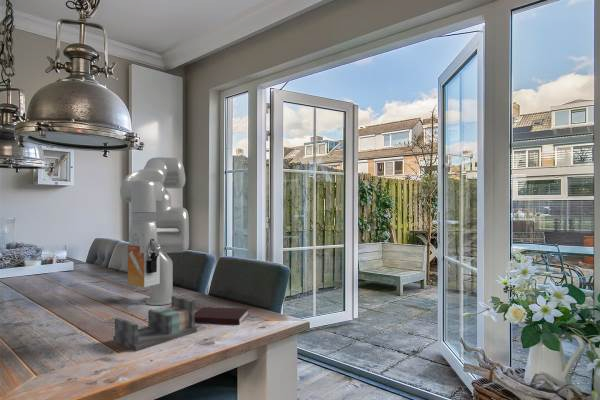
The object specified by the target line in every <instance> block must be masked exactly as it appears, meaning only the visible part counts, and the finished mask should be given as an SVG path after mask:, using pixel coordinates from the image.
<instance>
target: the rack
mask: <svg viewBox="0 0 600 400" xmlns="http://www.w3.org/2000/svg"><path fill="white" fill-rule="evenodd" d="M195 303H196V302H195V300H192V299H189V298H186V297H185V298H184V297H181V296H177V295H173V296H172V303H171V306H169V307H167V308H165V307H160V308H156V309H148V317H147V318H148V319H147V320H148V322H147V323H148V326H145V327H142V328H139V324H137V323H135V322H132V321H129V320H126V319H124V318H121V317H115V318H114V335H113V336H112V337H113V339H112V341H113V342H115V343H116V344H120V345H121V346H123V347H126V348H128V349H130V350H132V351H135V352H138V351H141V350H144V349H147V348H150V347H154V346H156V345H160V344H163V343H166V342H169V341H171V340H174V339H178V338H181V337H184V336H188V335H190V334H193V333H196V332H197V326H195V325H196V323H195V312H196V309H195V307H196V306H195Z"/></svg>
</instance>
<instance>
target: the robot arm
mask: <svg viewBox="0 0 600 400" xmlns="http://www.w3.org/2000/svg"><path fill="white" fill-rule="evenodd" d="M185 184H186V174H185V168H184V164H183V162H182V161H181V159H180V158H178V157H161V156H160V157H157V156H156V157H151V158H150V159H148V160H147V161H146V163H145V165H144V168H143V169H139V170H136V171H134V172H131V173H128V174H127V175H126V176H125V177H124V179H123V181H122V183H121V185H120V190H119V194H120V197H121V200H122V201H124V202H125V203H128V204H130V205H131V206H130V207H131V208H130V211H131V212H130V214H131V215H130V216H131V217H130V218H131V221H130V227H129V233H128V234H129V235H128V245H136V246H140V253H142V254H143V253H146V252H147V258H148V261H147V273H154V272H157V259H158V255H159V251H160V283H159V284H156V285H152V286H149V287H150V288H149V291H148V292H147V296H149V298H148V299H146V304H147V305H149V306H163V305H169V304H172V296H174V294H173V293H174V291H173V288H174V286H173V283H174V281H173V279H174V278H173V276H174V275H173V273H174V272H173V269H174V266H173V263H174V262H173V260H172V258H171V257H170V256H169V255H168V254H169V253H185V252H187V251H188V250H189V246H190V219H189V213H188V210H187V209H186V208H185V207H182V206H181V207H176V206H175V207H174V206H172V195H171V193H170V192H169V191H168V189H175V190H176V189H177V190H178V189H182V188H183V187H185ZM157 229H176V230H177V231H175V230H174V231H172V230H171V231H166V230H165V231H164V230H163V231H161V230H160V231H158V230H157ZM158 244H159V245H160V247H159V245H158ZM150 245H151V246H152V247H153V248H154V249H153V250H152V251H148V250H149V248H150ZM150 253H152V255H151V256H150Z"/></svg>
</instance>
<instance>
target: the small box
mask: <svg viewBox="0 0 600 400" xmlns="http://www.w3.org/2000/svg"><path fill="white" fill-rule="evenodd" d="M158 245H159V244H158ZM159 247H160V245H159ZM153 249H154V248H153V247H152V246H151V245H150V248H149V250H148V251H152V250H153ZM151 255H152V253H150V256H151ZM147 261H148V258H147V252H146V253H143V254H142V253H140V246H136V245H129V244H127V285H128V286H129V285H130V286H135V287H142V288H147V287H148V288H149V287H150V286H152V285H156V284H159V283H160V251H159V255H158V259H157V272H154V273H147Z"/></svg>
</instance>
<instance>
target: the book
mask: <svg viewBox="0 0 600 400" xmlns="http://www.w3.org/2000/svg"><path fill="white" fill-rule="evenodd" d="M248 317H249V308H245V307H243V308H240V307H239V308H238V307H237V308H236V307H213V306H212V307H207V306H206V307H205V306H204V307H202V308H200V309H198V310H197V311H195V324H196V323H198V324H217V325H218V324H219V325H231V326H232V325H234V326H240V324H241V323H243V322H244V321H245V320H246V319H247V318H248Z"/></svg>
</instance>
